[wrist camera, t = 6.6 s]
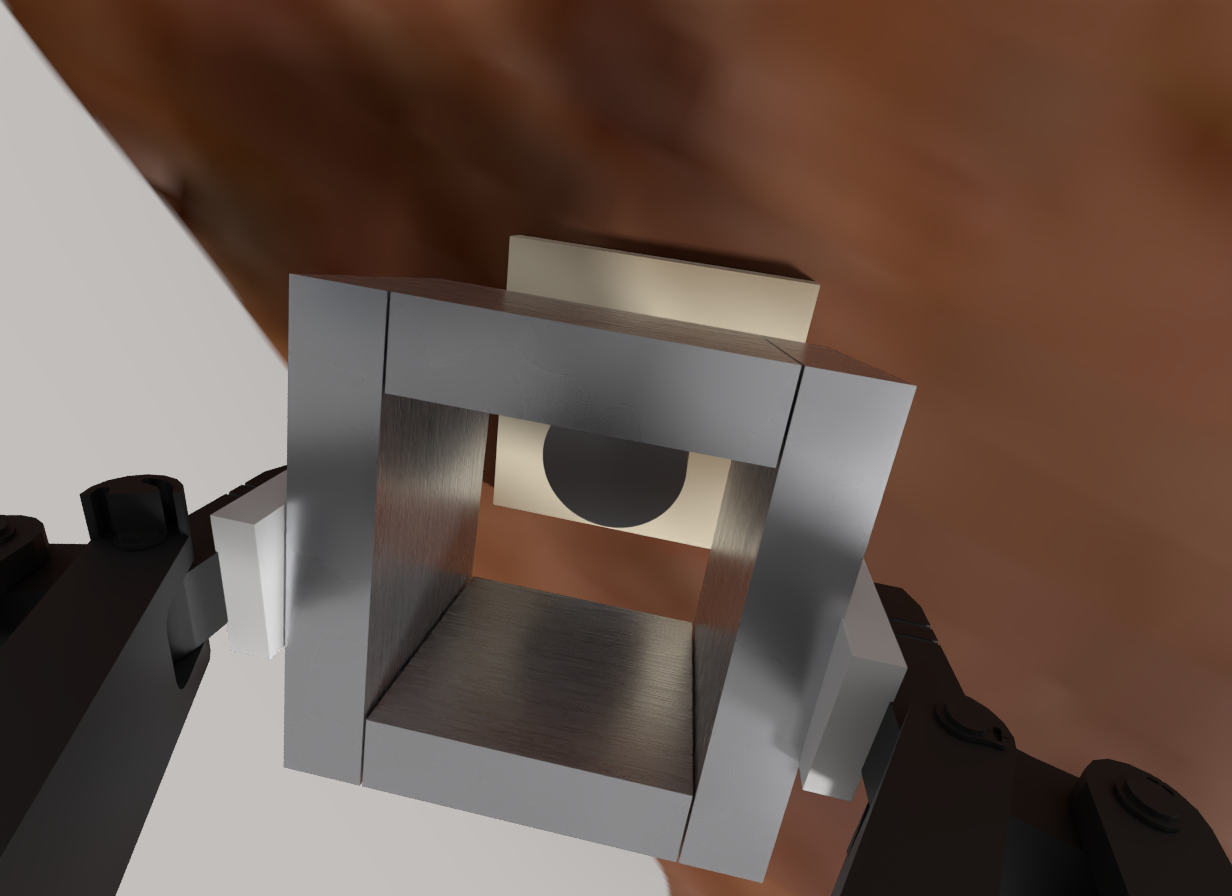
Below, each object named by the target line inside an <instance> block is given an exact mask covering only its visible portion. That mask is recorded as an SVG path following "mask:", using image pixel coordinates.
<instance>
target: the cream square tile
mask: <svg viewBox="0 0 1232 896" xmlns="http://www.w3.org/2000/svg"><path fill="white" fill-rule="evenodd" d="M819 288H820V284H818V283H817V282H816V281H809V280H803V279H797V278H790V277H784V276H778V275H771V274H765V273H759V272H752V271H746V270H740V269H733V268H727V267H721V266H714V265H708V264H701V263H695V262H689V261H682V260H676V259H670V258H663V257H657V256H651V255H644V254H638V253H632V252H625V251H619V250H613V249H606V248H600V247H594V246H587V245H581V244H574V243H568V242H562V241H555V240H549V239H543V238H536V237H530V236H524V235H514V236H510V243H509V259H508V275H507V290H509V291H515V292H520V293H526V294H532V295H537V296H543V297H549V298H554V299H560V300H566V301H571V302H577V303H583V304H588V305H594V306H600V307H605V308H611V309H617V310H622V311H628V312H634V313H639V314H645V315H651V316H656V317H662V318H668V319H673V320H679V321H685V322H690V323H696V324H702V325H707V326H713V327H719V328H724V329H730V330H736V331H741V332H747V333H753V334H758V335H759V336H760V335H764V336H770V337H775V338H781V339H787V340H792V341H798V342H804V343H805V341H806V337H807V334H808V330H809V326H810V322H811V318H812V315H813V311H814V307H815V303H816V299H817V296H818V292H819ZM730 464H731V460H730V459H725V458H720V457H715V456H709V455H704V454H699V453H694V452H689V451H683V450H678V449H673V448H668V447H663V446H657V445H652V444H647V443H642V442H637V441H631V440H626V439H621V438H616V437H611V436H605V435H600V434H595V433H590V432H585V431H579V430H574V429H569V428H564V427H559V426H553V425H548V424H543V423H538V422H533V421H527V420H522V419H517V418H512V417H507V416H501V415H499V420H498V436H497V453H496V469H495V485H494V501H493V504H494V505H499V506H504V507H509V508H514V509H519V510H524V511H528V512H533V513H538V514H543V515H548V516H553V517H558V518H562V519H567V520H572V521H577V522H582V523H587V524H592V525H596V526H601V527H606V528H611V529H616V530H621V531H626V532H630V533H635V534H640V535H645V536H650V537H655V538H660V539H664V540H669V541H674V542H679V543H684V544H689V545H694V546H698V547H703V548H708V549H711V546H712V542H713V538H714V533H715V529H716V525H717V520H718V516H719V512H720V507H721V503H722V499H723V494H724V490H725V486H726V481H727V477H728V472H729V468H730Z"/></svg>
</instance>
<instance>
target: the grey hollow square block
mask: <svg viewBox="0 0 1232 896" xmlns="http://www.w3.org/2000/svg"><path fill="white" fill-rule="evenodd" d="M916 387H917V386H916V385H913V384H911V383H909V382H907V381H904V380H902V379H900V378H897V377H895V376H893V375H891V374H888V373H886V372H884V371H881V370H879V369H877V368H875V367H872V366H870V365H868V364H866V363H863V362H861V361H859V360H856V359H854V358H852V357H850V356H847V355H845V354H843V353H840V352H838V351H836V350H834V349H831V348H829V347H826V346H821V345H815V344H809V343H804V342H798V341H792V340H787V339H781V338H775V337H770V336H764V335H760V336H759V335H758V334H753V333H747V332H741V331H736V330H730V329H724V328H719V327H713V326H707V325H702V324H696V323H690V322H685V321H679V320H673V319H668V318H662V317H656V316H651V315H645V314H639V313H634V312H628V311H622V310H617V309H611V308H605V307H600V306H594V305H588V304H583V303H577V302H571V301H566V300H560V299H554V298H549V297H543V296H537V295H532V294H526V293H520V292H515V291H509V290H503V289H498V288H492V287H486V286H481V285H475V284H470V283H464V282H458V281H453V280H447V279H441V278H412V277H382V276H351V275H321V274H290V273H289V342H288V436H287V523H286V613H285V705H284V706H285V707H284V711H285V712H284V767H285V768H289V769H293V770H297V771H302V772H306V773H310V774H314V775H318V776H322V777H326V778H331V779H335V780H339V781H343V782H347V783H351V784H355V785H360V784H361V783H362V781H363V783H362V786H364V787H368V788H372V789H376V790H380V791H384V792H389V793H392V794H397V795H401V796H405V797H409V798H413V799H417V800H421V801H426V802H430V803H434V804H438V805H442V806H446V807H450V808H454V809H459V810H463V811H467V812H471V813H475V814H480V815H484V816H488V817H492V818H496V819H500V820H504V821H508V822H512V823H517V824H521V825H525V826H529V827H533V828H537V829H541V830H545V831H550V832H554V833H558V834H562V835H566V836H571V837H574V838H579V839H583V840H587V841H591V842H595V843H599V844H603V845H608V846H612V847H616V848H620V849H624V850H628V851H632V852H636V853H641V854H645V855H649V856H653V857H657V858H661V859H665V860H669V861H673V862H676V860H677V856H678V852H679V863H682V864H686V865H690V866H694V867H698V868H702V869H706V870H711V871H715V872H719V873H723V874H727V875H731V876H735V877H740V878H744V879H748V880H752V881H756V882H760V883H763V880H764V877H765V873H766V870H767V867H768V864H769V861H770V857H771V854H772V851H773V848H774V844H775V841H776V838H777V835H778V832H779V828H780V825H781V822H782V819H783V815H784V812H785V809H786V806H787V803H788V799H789V796H790V793H791V790H792V786H793V783H794V780H795V777H796V774H797V770H798V767H799V760H800V757H801V753H802V750H803V747H804V743H805V740H806V737H807V733H808V730H809V726H810V723H811V720H812V716H813V713H814V710H815V706H816V703H817V700H818V696H819V693H820V689H821V686H822V683H823V679H824V676H825V673H826V669H827V666H828V662H829V659H830V656H831V652H832V649H833V646H834V642H835V639H836V635H837V632H838V629H839V625H840V622H841V619H845V616H846V612H847V609H848V606H849V603H850V599H851V596H852V593H853V590H854V587H855V583H856V580H857V577H858V574H859V570H860V567H861V564H862V561H863V558H864V554H865V551H866V548H867V545H868V541H869V538H870V535H871V532H872V529H873V525H874V522H875V519H876V516H877V512H878V509H879V506H880V503H881V500H882V496H883V493H884V490H885V487H886V483H887V480H888V477H889V474H890V471H891V467H892V464H893V461H894V458H895V454H896V451H897V448H898V445H899V442H900V438H901V435H902V432H903V429H904V425H905V422H906V419H907V416H908V413H909V409H910V406H911V403H912V400H913V396H914V393H915V390H916ZM489 413H491V414H496V415H501V416H507V417H512V418H517V419H522V420H527V421H533V422H538V423H543V424H548V425H553V426H559V427H564V428H569V429H574V430H579V431H585V432H590V433H595V434H600V435H605V436H611V437H616V438H621V439H626V440H631V441H637V442H642V443H647V444H652V445H657V446H663V447H668V448H673V449H678V450H683V451H689V452H694V453H699V454H704V455H709V456H715V457H720V458H725V459H730V460H731V464H730V468H729V472H728V477H727V481H726V486H725V490H724V494H723V499H722V503H721V507H720V512H719V516H718V520H717V525H716V529H715V533H714V538H713V542H712V546H711V551H710V555H709V559H708V564H707V568H706V572H705V577H704V581H703V585H702V590H701V594H700V598H699V603H698V607H697V612H696V616H695V620H694V625H693V629H692V623H690V622H686V621H681V620H676V619H672V618H667V617H662V616H657V615H653V614H648V613H643V612H639V611H634V610H629V609H625V608H620V607H615V606H610V605H606V604H601V603H596V602H592V601H587V600H582V599H578V598H573V597H568V596H563V595H559V594H554V593H549V592H545V591H540V590H535V589H531V588H526V587H521V586H516V585H512V584H507V583H502V582H498V581H493V580H488V579H484V578H479V577H474V576H473V578H472V569H473V560H474V550H475V541H476V532H477V523H478V513H479V504H480V495H481V486H482V476H483V467H484V458H485V449H486V439H487V430H488V421H489ZM471 578H472V579H471Z"/></svg>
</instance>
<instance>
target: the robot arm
mask: <svg viewBox="0 0 1232 896" xmlns="http://www.w3.org/2000/svg"><path fill="white" fill-rule="evenodd" d="M80 498H81V502H82V506H83V511H84V515H85V519H86V523H87V526H88V531H89V535H90V539H91V541H90V542H89V543H88V544H49V543H48V540H47V536H46V532H45V528H44V525H43V523H42V522H40V521H39V520H38V519H36V518H33V517H28V516H22V515H7V516H6V515H0V896H115V895H116V893H117V890H118V888H119V885H120V883H121V880H122V878H123V875H124V873H125V870H126V868H127V865H128V863H129V860H130V858H131V855H132V853H133V850H134V848H135V845H136V843H137V840H138V838H139V835H140V833H141V830H142V828H143V825H144V823H145V820H146V818H147V815H148V813H149V810H150V808H151V805H152V803H153V800H154V798H155V795H156V793H157V790H158V787H159V785H160V783H161V780H162V778H163V775H164V773H165V770H166V768H167V765H168V763H169V760H170V758H171V755H172V753H173V750H174V748H175V745H176V743H177V740H178V737H179V735H180V733H181V730H182V728H183V725H184V723H185V720H186V718H187V715H188V713H189V710H190V708H191V705H192V702H193V700H194V698H195V695H196V693H197V690H198V688H199V685H200V683H201V680H202V678H203V675H204V673H205V670H206V668H207V665H208V663H209V660H210V644H209V637H211V636H212V635H213V634H214V633H215V632H217V631H218V630H219V629H220V628H221V627H223V626H224V625H225V624H227V632H228V638H229V645H230V650H231V651H235V652H239V653H243V654H247V655H252V656H256V657H260V658H264V659H268V660H270V659H272V658H273V657H274V656H275V654H276V653H278V652H279V650H281V649H282V648H283V647H284V646H285V613H286V523H287V465H286V466H282V467H279V468H275V469H272V470H269V471H265V472H263V473H262V474H260V475H258V476H256V477H255V478H253V479H251V480H249V481H248V482H246V483H245V485H241V486H239V487H237V488H235V489H234V490H232V491H230V492H229V495H227V494H225V495H223V496H221V497H220V498H218V499H216V500H214V501H213V502H211V503H209V504H207V505H206V506H204V507H202V508H200V509H199V510H197V511H195V512H193V513H191V514H190V515H188V511H187V505H186V500H185V493H184V488H183V485H182V484H181V483H180V482H179V481H178V480H177V479H175V478H171V477H168V476H163V475H149V474H148V475H135V476H126V477H121V478H117V479H112V480H108V481H105V482H102V483H100V484H97V485H94V486H92V487H90V488H88V489H87V490H86V491H84V492H83V493H81V494H80ZM799 767H800V775H801V782H802V789H803V790H806V791H810V792H814V793H818V794H822V795H826V796H831V797H835V798H839V799H843V800H847V801H852V799H853V796H854V794H855V791H856V789H857V787H858V784H859V782H860V780H861V777H862V776H863V780H864V784H865V789H866V793H867V797H868V804H867V806H866V808H865V811H864V813H863V815H862V817H861V820H860V822H859V824H858V827H857V829H856V831H855V833H854V836H853V838H852V840H851V842H850V845H849V847H848V849H847V856H846V858H845V861H844V864H843V866H842V869H841V871H840V874H839V877H838V879H837V882H836V884H835V887H834V889H833V892H832V895H831V896H1232V865H1231V863H1230V861H1229V859H1228V857H1227V856H1226V854H1225V852H1224V850H1223V848H1222V847H1221V845H1220V843H1219V841H1218V839H1217V837H1216V836H1215V834H1214V832H1213V830H1212V829H1211V827H1210V826H1209V825H1208V823H1207V822H1206V821H1205V819H1204V818H1203V817H1202V815H1201V814H1200V813H1199V811H1198V810H1197V809H1196V808H1195V807H1194V806H1192V805H1191V804H1190V803H1189V802H1188V801H1187V800H1186V799H1185V798H1184V797H1182V796H1181V795H1180V794H1179V793H1178V792H1177V791H1176V790H1174V789H1173V788H1172V787H1170V786H1169V785H1167V784H1166V783H1165V782H1162V781H1161V780H1160V779H1158V778H1156V777H1155V776H1153V775H1151V774H1149V773H1147V772H1145V771H1142V770H1140V769H1138V768H1136V767H1134V766H1132V765H1130V764H1126V763H1122V762H1118V761H1115V760H1111V759H1101V760H1093V761H1092V762H1091V763H1090V764H1089V765H1088V766H1087V767H1086V768H1085V770H1084V771H1083V773H1082V774H1081V776H1080V778H1078V777H1076V776H1074V775H1071V774H1069V773H1067V772H1065V771H1063V770H1060V769H1058V768H1056V767H1054V766H1051V765H1049V764H1047V763H1045V762H1042V761H1040V760H1038V759H1036V758H1034V757H1031V756H1030V755H1028V754H1026V753H1024V752H1022V751H1020V750H1018V749H1016V745H1015V740H1014V737H1013V736H1012V734H1011V733H1010V731H1009V730H1008V728H1007V727H1006V725H1005V724H1004V722H1002V721H1001V720H1000V719H999V718H998V717H997V716H996V715H995V714H994V713H993V712H991V711H990V710H989V709H988V708H986V707H985V706H983V705H982V704H980V703H978V702H977V701H975V700H973V699H972V698H970V697H968V696H965V694H964V692H963V690H962V688H961V686H960V684H959V682H958V680H957V678H956V676H955V674H954V672H953V670H952V668H951V666H950V664H949V662H948V660H947V658H946V656H945V654H944V652H943V650H942V648H941V646H940V645H938V640H937V638H936V636H935V634H934V632H933V630H932V629H930V624H929V622H928V620H927V618H926V616H925V614H924V612H923V610H922V608H921V606H920V605H919V604H918V603H917V602H916V601H915V600H914V599H912V598H911V597H910V596H909V595H908V594H907V593H906V592H905V591H904V590H903V589H902V588H898V587H893V586H888V585H883V584H879V583H874V582H873V580H872V578H871V576H870V573H869V571H868V568H867V566H866V563H865V561H864V558H863V561H862V564H861V567H860V570H859V574H858V577H857V580H856V583H855V587H854V590H853V593H852V596H851V599H850V603H849V606H848V609H847V612H846V616H845V619H841V622H840V625H839V629H838V632H837V635H836V639H835V642H834V646H833V649H832V652H831V656H830V659H829V662H828V666H827V669H826V673H825V676H824V679H823V683H822V686H821V689H820V693H819V696H818V700H817V703H816V706H815V710H814V713H813V716H812V720H811V723H810V726H809V730H808V733H807V737H806V740H805V743H804V747H803V750H802V753H801V757H800V760H799Z"/></svg>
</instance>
